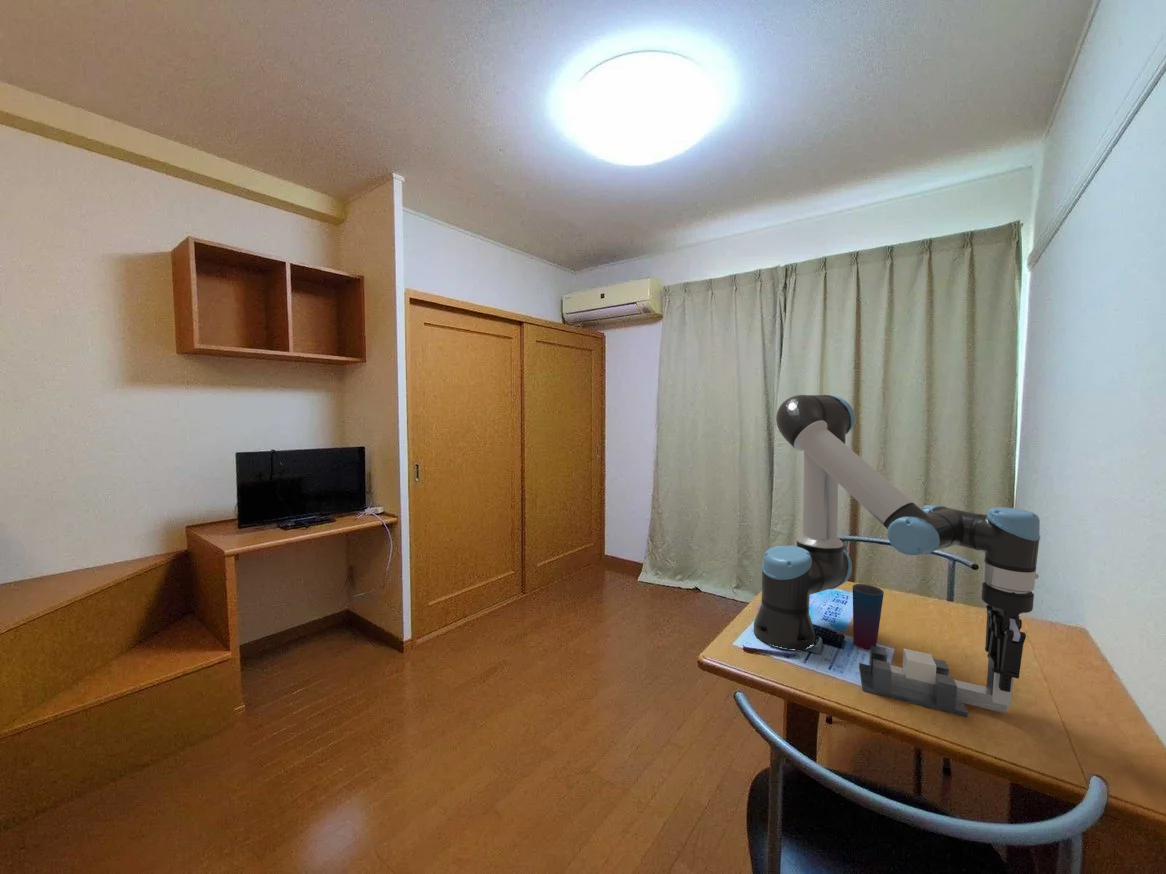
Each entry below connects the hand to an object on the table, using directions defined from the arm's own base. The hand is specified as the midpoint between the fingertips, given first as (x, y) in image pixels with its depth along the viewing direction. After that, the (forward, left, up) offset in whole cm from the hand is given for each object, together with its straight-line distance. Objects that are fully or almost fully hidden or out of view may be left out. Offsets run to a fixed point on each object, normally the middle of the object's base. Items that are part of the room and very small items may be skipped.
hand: (998, 697), depth 92 cm
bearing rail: (-15, 0, -3) cm, 15 cm away
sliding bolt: (-9, 0, -2) cm, 9 cm away
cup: (-22, +17, -3) cm, 28 cm away
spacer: (-13, 0, +3) cm, 14 cm away
